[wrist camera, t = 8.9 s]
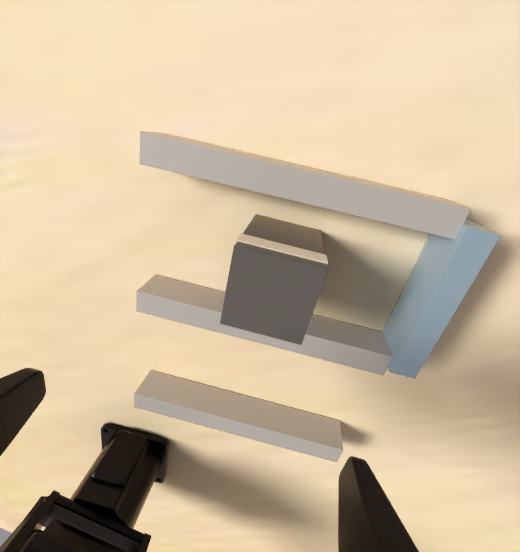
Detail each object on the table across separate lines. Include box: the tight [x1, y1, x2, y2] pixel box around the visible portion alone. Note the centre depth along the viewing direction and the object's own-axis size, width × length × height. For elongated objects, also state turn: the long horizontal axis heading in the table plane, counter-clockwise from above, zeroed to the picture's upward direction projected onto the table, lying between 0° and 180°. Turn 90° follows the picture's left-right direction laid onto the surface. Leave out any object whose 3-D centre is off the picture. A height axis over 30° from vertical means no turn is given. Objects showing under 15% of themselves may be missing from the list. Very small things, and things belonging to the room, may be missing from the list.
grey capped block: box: [220, 214, 328, 345], centre depth 16 cm, size 4×4×6 cm
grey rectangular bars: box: [134, 131, 501, 462], centre depth 19 cm, size 20×18×3 cm
